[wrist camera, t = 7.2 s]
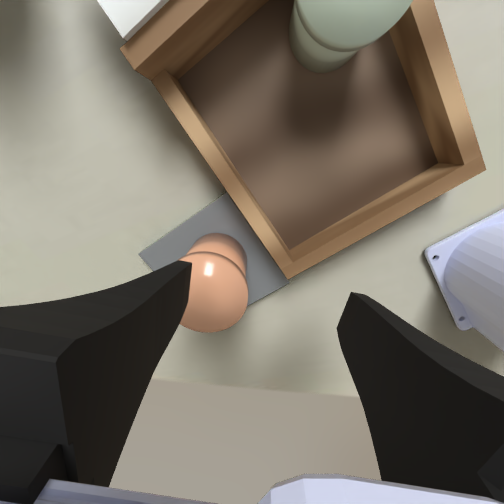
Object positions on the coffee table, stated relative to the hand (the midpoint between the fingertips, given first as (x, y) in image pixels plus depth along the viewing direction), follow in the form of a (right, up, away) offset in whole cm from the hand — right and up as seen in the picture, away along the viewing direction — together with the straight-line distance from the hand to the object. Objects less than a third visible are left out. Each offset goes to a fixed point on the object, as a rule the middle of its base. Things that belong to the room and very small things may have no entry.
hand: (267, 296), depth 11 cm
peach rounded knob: (-3, +1, +9) cm, 10 cm away
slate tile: (-4, +1, +10) cm, 11 cm away
